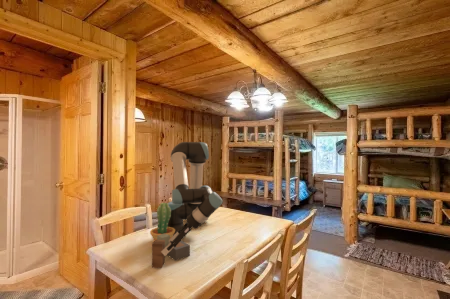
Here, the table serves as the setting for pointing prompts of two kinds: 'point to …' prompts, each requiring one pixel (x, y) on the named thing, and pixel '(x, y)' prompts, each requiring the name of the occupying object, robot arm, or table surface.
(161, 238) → the sage block
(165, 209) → the potted cactus
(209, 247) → the table surface
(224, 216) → the table surface
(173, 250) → the charcoal base block
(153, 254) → the walnut block
